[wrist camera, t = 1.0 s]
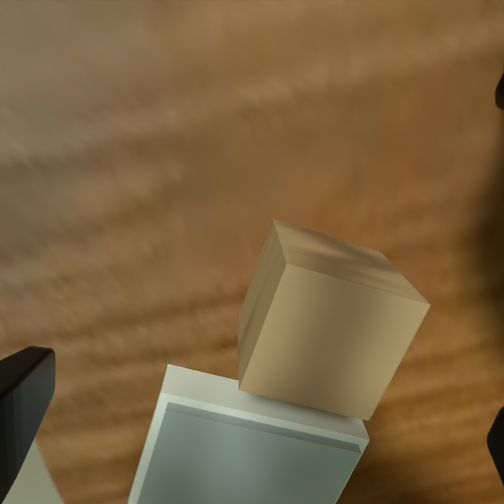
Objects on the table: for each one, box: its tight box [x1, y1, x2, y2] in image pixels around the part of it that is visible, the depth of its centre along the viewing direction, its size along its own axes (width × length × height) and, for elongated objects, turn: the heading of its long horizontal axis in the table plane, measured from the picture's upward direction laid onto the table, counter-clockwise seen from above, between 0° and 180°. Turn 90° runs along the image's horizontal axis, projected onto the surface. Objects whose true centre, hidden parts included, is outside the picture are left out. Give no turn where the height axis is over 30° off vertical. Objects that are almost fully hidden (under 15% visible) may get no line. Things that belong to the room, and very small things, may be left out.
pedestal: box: [127, 364, 370, 504], centre depth 25 cm, size 12×12×3 cm
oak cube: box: [238, 219, 430, 421], centre depth 19 cm, size 6×6×6 cm
